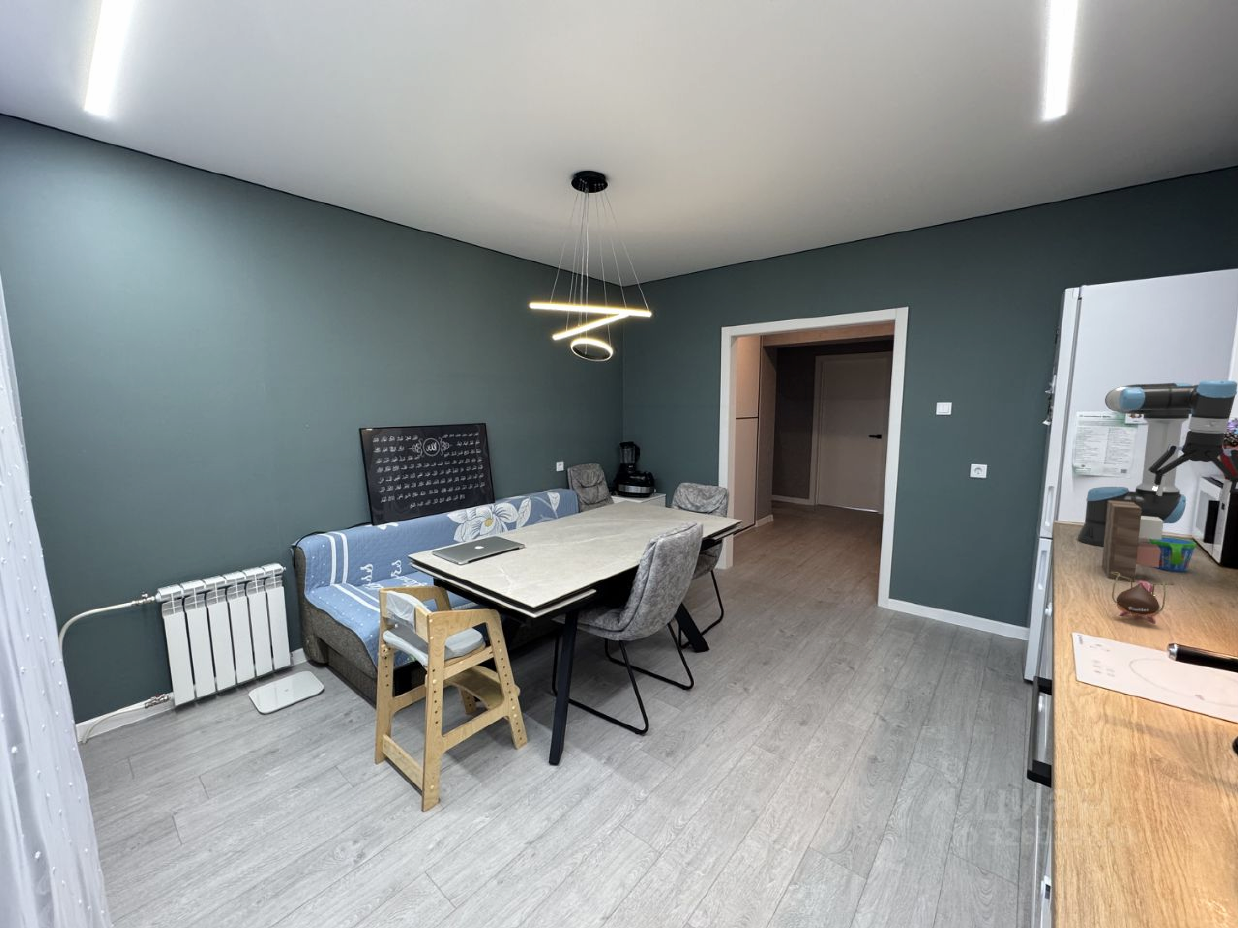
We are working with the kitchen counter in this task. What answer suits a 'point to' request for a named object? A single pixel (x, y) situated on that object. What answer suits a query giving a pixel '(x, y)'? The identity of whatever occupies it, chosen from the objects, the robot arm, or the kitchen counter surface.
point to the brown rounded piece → (1139, 599)
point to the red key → (1148, 555)
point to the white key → (1151, 527)
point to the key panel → (1121, 539)
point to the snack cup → (1174, 553)
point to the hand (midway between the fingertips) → (1190, 498)
